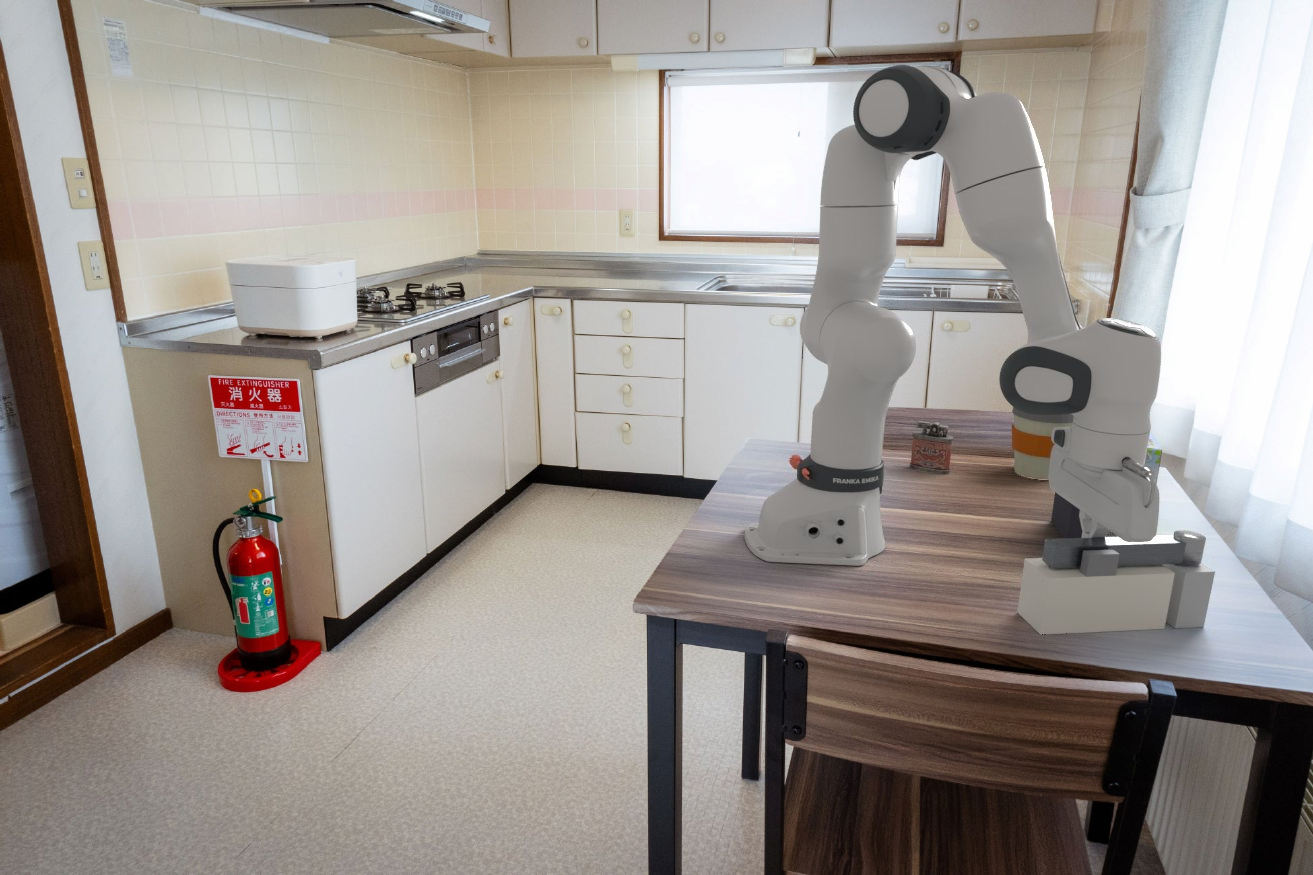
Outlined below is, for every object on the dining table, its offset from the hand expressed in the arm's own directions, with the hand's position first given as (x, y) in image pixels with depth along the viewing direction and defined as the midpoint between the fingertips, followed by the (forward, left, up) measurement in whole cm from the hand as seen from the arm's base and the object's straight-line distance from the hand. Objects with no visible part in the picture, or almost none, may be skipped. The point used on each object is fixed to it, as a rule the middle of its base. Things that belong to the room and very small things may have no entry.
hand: (1091, 546), depth 114 cm
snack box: (+29, +35, -10) cm, 46 cm away
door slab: (0, -3, -10) cm, 10 cm away
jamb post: (+12, -3, -10) cm, 15 cm away
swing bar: (+3, -2, -1) cm, 4 cm away
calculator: (+13, +26, -10) cm, 31 cm away
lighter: (+3, +60, -10) cm, 61 cm away
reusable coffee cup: (+24, +56, -10) cm, 62 cm away
